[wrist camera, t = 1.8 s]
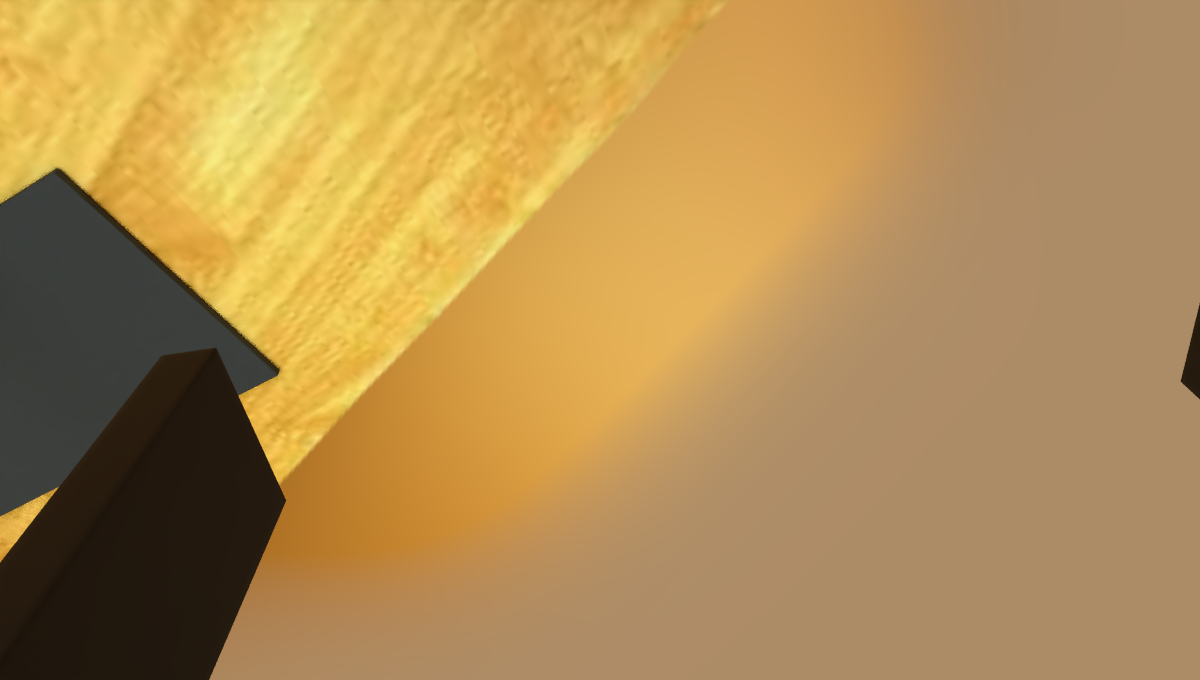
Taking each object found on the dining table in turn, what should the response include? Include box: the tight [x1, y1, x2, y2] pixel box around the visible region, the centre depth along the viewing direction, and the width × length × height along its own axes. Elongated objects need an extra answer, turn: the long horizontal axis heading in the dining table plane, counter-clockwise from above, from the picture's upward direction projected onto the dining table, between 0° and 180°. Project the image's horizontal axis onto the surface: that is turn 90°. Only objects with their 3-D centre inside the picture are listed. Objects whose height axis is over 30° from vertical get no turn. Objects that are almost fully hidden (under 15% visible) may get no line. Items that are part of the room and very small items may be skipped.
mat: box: [0, 169, 279, 516], centre depth 44 cm, size 14×22×1 cm, turn 118°
